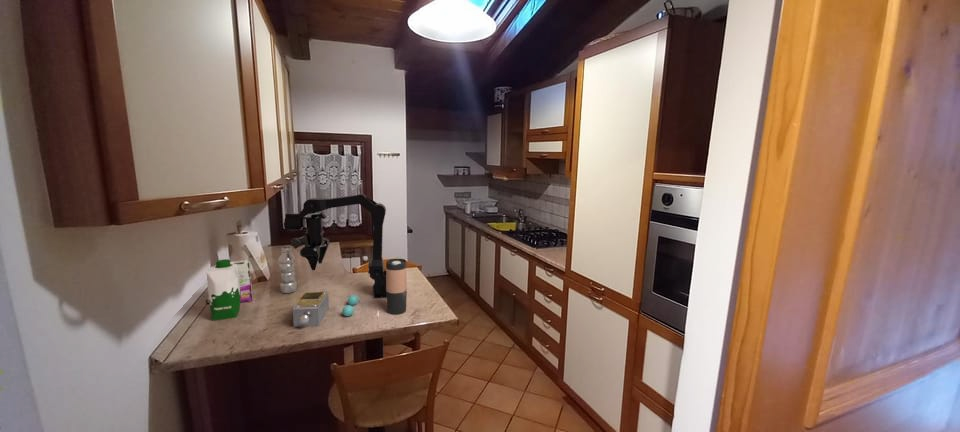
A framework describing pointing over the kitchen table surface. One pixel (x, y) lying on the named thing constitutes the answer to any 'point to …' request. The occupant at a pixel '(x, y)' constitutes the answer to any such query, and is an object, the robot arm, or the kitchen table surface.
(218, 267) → the milk carton
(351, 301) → the bead
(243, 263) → the candy bar box
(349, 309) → the bead
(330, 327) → the kitchen table surface
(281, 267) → the plastic bottle
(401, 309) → the travel mug
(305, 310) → the gearbox
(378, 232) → the robot arm
